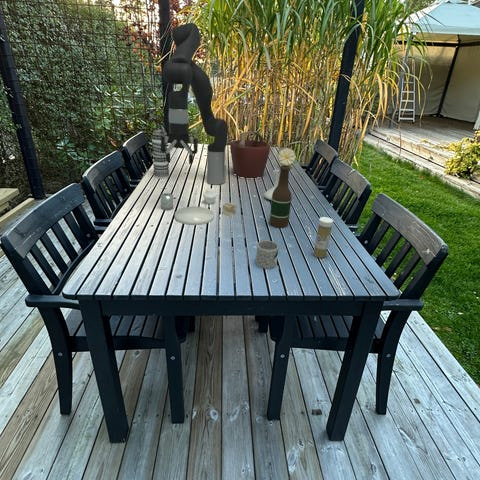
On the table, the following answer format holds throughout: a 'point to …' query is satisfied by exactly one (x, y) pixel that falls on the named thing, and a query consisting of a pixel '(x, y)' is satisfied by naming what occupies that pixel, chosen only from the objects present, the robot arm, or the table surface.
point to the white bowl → (194, 215)
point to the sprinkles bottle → (323, 237)
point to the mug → (267, 254)
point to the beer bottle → (281, 200)
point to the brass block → (229, 209)
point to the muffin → (209, 196)
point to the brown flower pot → (249, 156)
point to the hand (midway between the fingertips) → (179, 163)
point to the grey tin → (166, 201)
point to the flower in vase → (285, 158)
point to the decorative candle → (159, 155)
